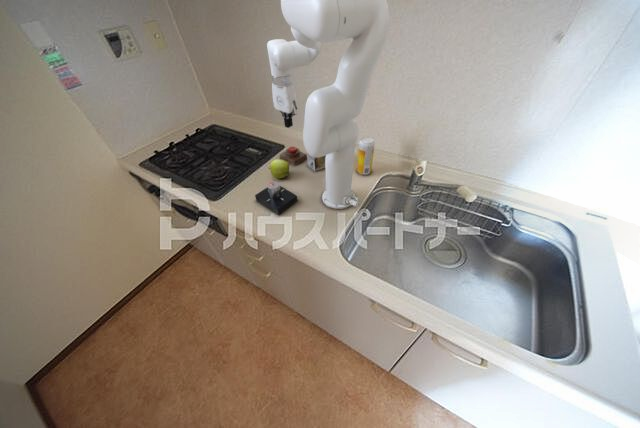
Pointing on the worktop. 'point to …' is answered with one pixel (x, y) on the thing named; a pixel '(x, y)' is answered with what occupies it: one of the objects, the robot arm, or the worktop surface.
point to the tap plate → (276, 200)
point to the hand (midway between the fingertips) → (288, 126)
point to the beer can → (365, 155)
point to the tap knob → (274, 190)
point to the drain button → (292, 149)
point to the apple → (279, 168)
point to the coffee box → (316, 162)
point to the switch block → (293, 156)
